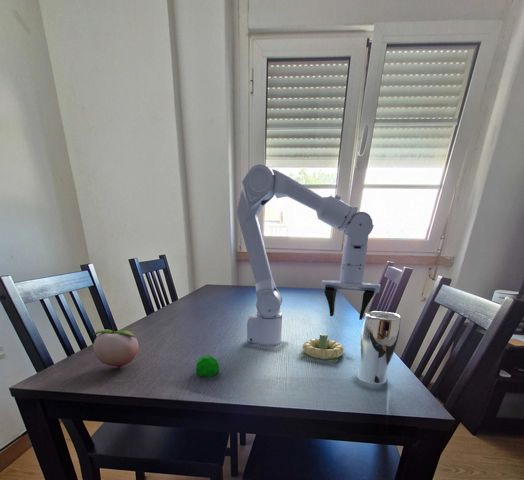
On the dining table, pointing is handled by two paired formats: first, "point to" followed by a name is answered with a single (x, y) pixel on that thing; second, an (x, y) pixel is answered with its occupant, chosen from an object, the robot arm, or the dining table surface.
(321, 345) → the post stand
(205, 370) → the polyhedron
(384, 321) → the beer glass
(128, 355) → the decorative fruit
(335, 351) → the ring
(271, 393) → the dining table surface
